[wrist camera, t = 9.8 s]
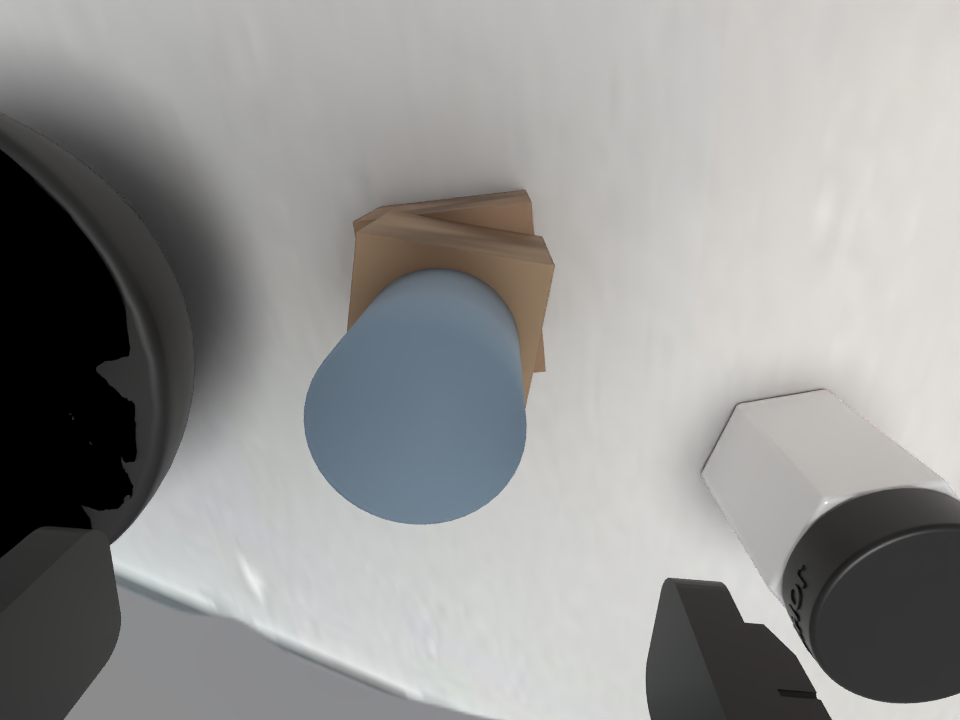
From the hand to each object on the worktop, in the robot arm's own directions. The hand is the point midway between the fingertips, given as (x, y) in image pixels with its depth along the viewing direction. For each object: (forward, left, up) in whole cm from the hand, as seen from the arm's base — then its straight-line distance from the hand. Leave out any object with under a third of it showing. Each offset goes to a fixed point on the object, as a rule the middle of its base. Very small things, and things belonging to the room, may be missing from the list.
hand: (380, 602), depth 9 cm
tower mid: (0, 0, -17) cm, 17 cm away
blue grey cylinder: (0, 0, -11) cm, 11 cm away
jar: (-18, +9, -23) cm, 31 cm away
